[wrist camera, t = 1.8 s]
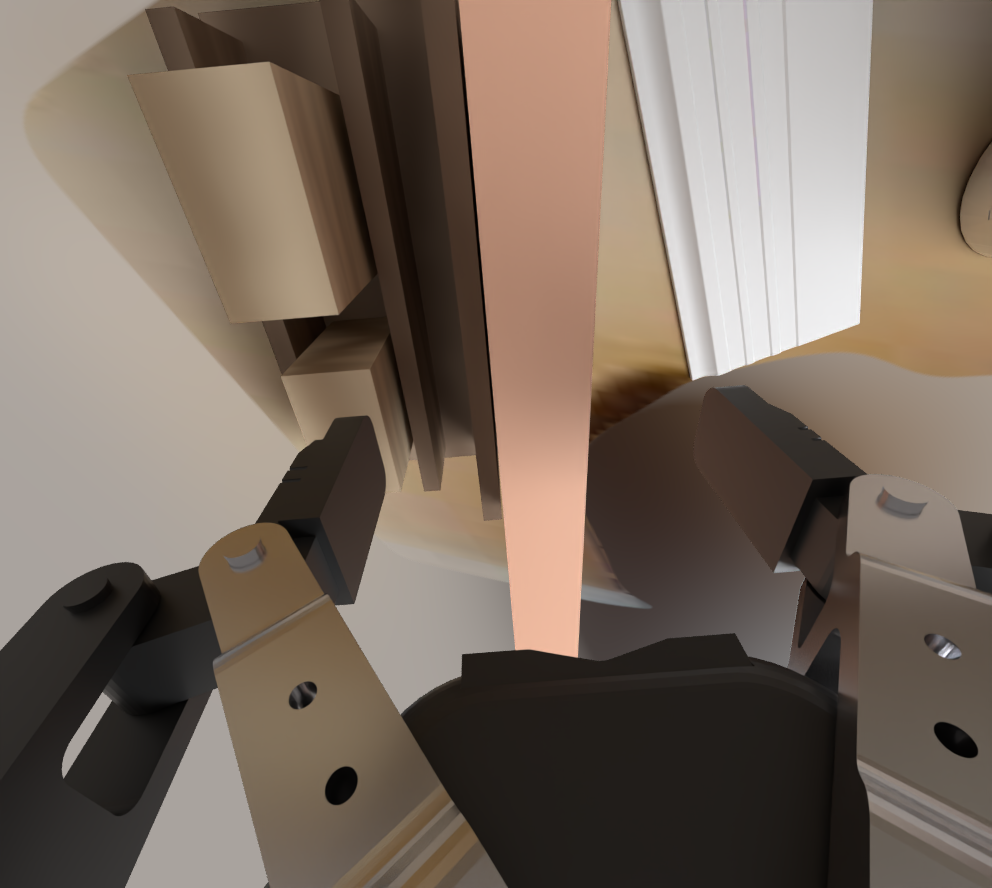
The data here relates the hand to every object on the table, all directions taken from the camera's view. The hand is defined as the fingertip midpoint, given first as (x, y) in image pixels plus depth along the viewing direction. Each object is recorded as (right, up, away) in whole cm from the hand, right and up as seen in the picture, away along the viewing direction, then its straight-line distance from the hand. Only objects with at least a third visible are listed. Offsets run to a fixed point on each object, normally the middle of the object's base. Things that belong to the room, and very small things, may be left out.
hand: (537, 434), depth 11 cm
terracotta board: (0, +9, +14) cm, 17 cm away
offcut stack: (-9, +9, +14) cm, 19 cm away
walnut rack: (-4, +10, +16) cm, 19 cm away
